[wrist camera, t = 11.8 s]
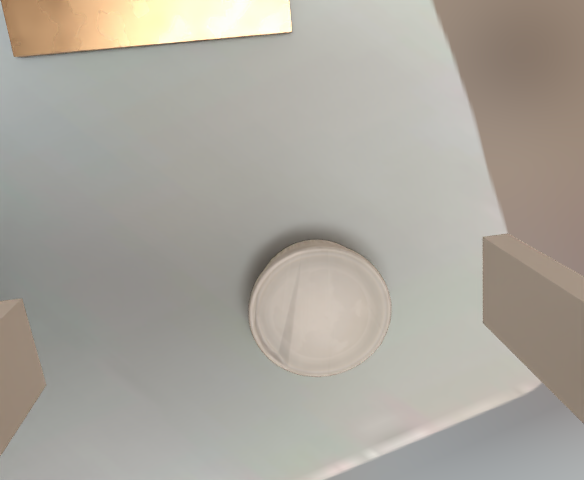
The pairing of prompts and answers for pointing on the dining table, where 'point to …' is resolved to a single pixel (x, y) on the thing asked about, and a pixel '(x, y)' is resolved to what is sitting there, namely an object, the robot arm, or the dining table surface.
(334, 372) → the ramekin
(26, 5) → the plaque
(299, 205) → the dining table surface
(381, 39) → the dining table surface
